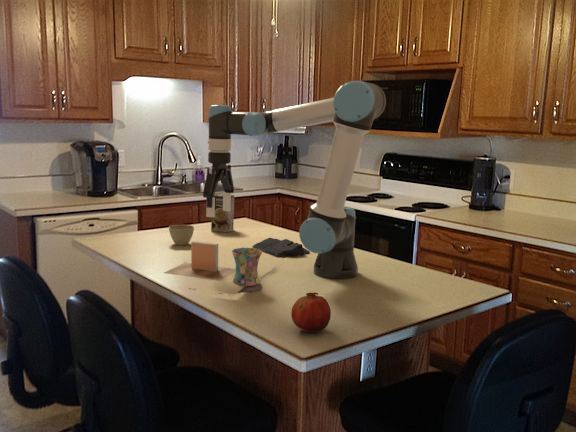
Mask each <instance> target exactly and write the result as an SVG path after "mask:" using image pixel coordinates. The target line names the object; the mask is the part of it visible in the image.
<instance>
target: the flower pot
mask: <svg viewBox="0 0 576 432" xmlns="http://www.w3.org/2000/svg"><path fill="white" fill-rule="evenodd" d="M168 229H169V234H170V238H171V240H172V242H173V243H174V245H176V246H187V245H189V243H190V241H191V240H192V238H193V235H194V230H195V226H194V225H191V224H173V225H169V226H168Z"/></svg>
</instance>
